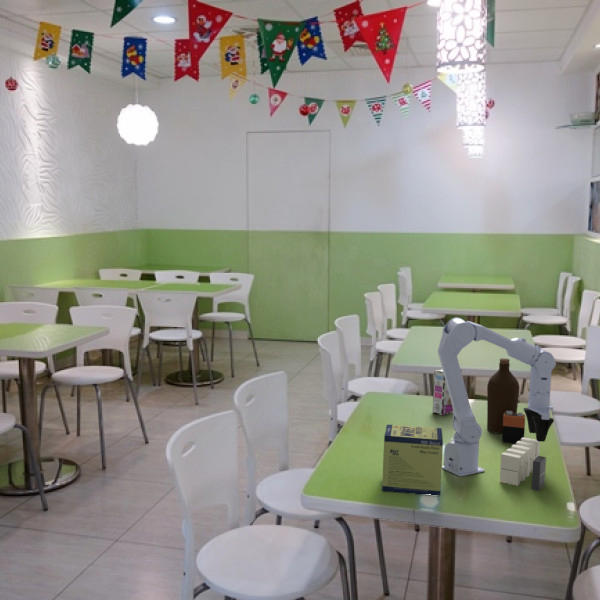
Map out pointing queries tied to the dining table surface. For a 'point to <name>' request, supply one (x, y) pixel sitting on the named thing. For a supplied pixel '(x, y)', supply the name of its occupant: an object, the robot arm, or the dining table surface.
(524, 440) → the domino
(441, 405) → the candy bar box
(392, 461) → the protein box
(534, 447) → the domino
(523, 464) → the domino
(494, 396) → the olive oil
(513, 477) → the domino
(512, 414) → the battery
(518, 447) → the domino
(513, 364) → the dining table surface
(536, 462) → the domino
